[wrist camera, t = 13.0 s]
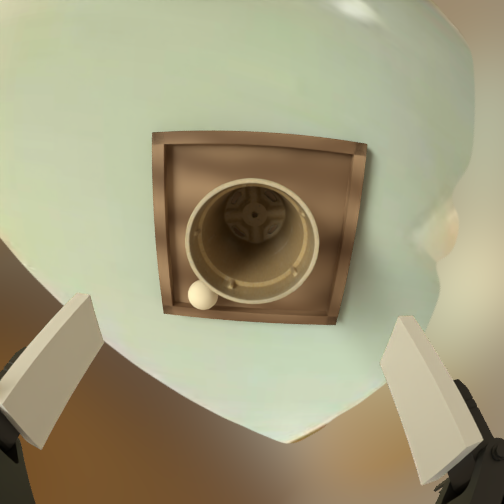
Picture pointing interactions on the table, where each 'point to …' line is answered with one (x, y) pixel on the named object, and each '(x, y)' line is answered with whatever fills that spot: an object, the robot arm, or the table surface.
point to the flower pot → (252, 241)
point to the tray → (262, 167)
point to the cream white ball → (201, 296)
